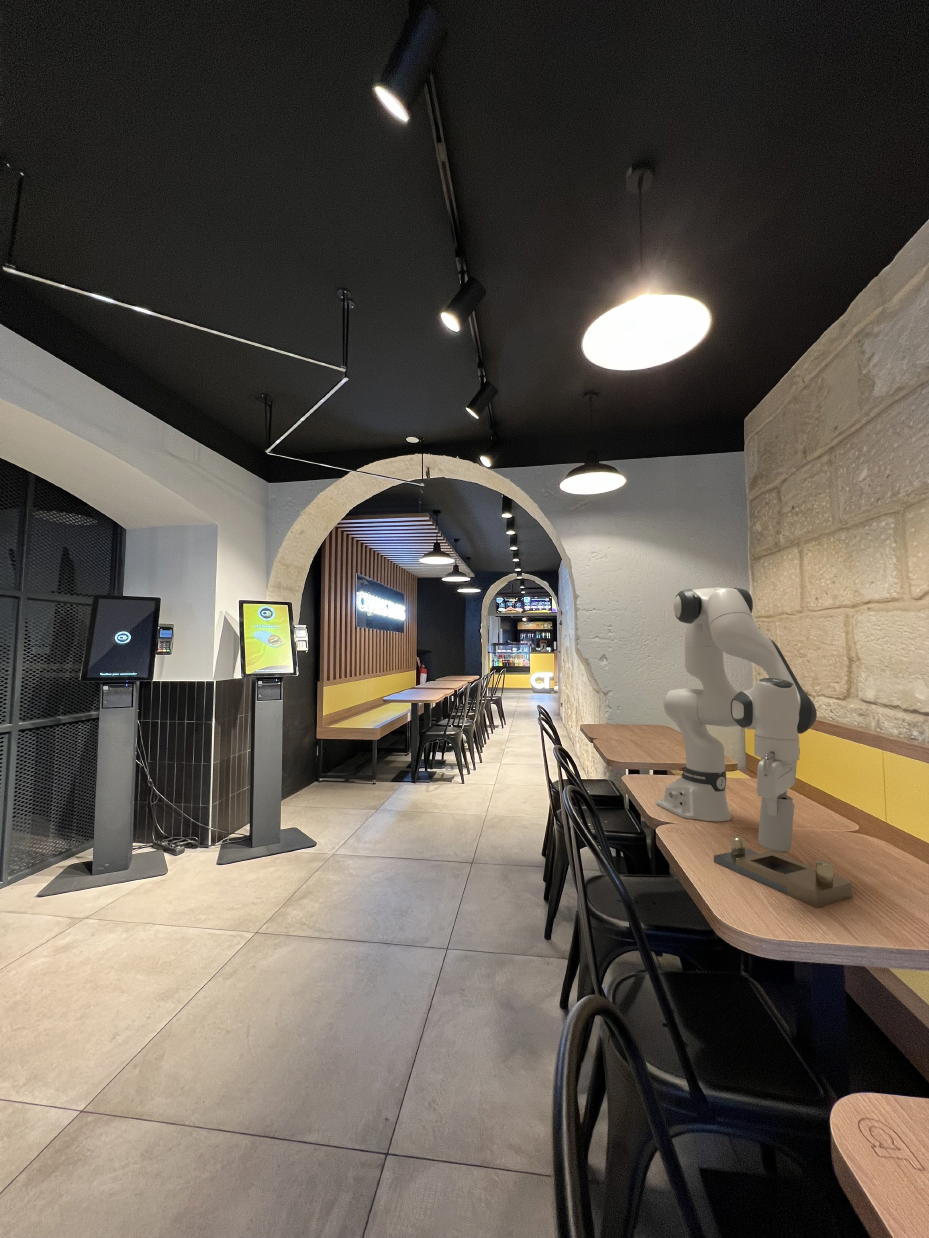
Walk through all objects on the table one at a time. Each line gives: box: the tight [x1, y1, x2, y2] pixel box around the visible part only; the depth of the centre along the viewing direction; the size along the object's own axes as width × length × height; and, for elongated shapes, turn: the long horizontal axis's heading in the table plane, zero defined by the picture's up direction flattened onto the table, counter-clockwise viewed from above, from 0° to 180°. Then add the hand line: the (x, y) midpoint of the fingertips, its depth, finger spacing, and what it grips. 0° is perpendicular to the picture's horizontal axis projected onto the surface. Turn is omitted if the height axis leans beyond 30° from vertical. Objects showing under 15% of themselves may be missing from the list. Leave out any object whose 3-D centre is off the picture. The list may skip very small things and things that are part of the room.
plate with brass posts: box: [713, 835, 853, 909], centre depth 116 cm, size 24×12×7 cm, turn 25°
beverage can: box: [757, 794, 795, 854], centre depth 117 cm, size 6×6×12 cm
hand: (776, 811), depth 117 cm, fingers closed on beverage can, 6 cm apart
